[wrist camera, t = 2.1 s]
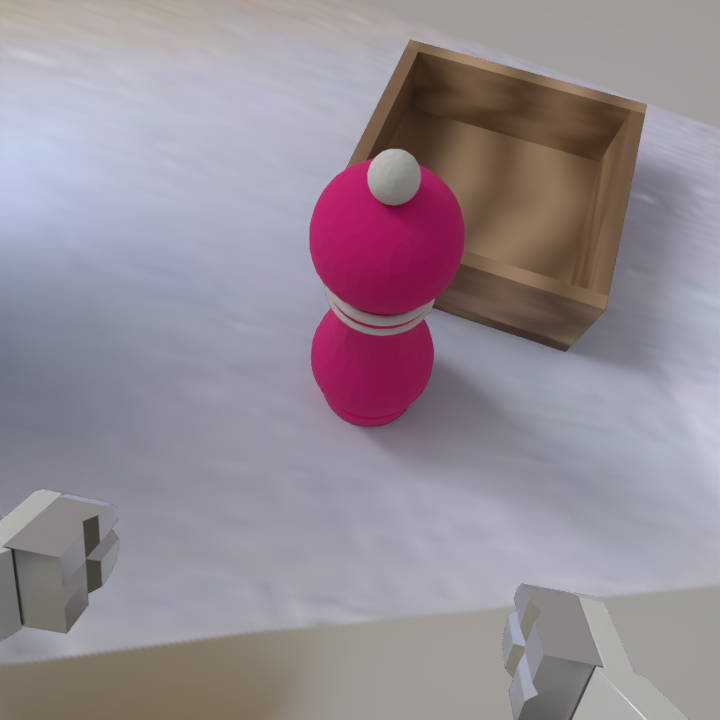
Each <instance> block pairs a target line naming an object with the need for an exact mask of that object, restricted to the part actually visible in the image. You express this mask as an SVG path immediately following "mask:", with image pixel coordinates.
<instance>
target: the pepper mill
mask: <svg viewBox="0 0 720 720" xmlns="http://www.w3.org/2000/svg"><path fill="white" fill-rule="evenodd" d="M309 239H310V252H311V256H312V260H313V263H314V266H315V269H316V272H317V273H318V275H319V276H320V278H321V280H322V281H323V283H324V284H325V292H326V296H327V299H328V302H329V304H330V306H331V309H330V310H329V311H328V312H327V314H326V315H325V316H324V318H323V320H322V321H321V323H320V325H319V326H318V328H317V330H316V332H315V335H314V338H313V343H312V350H311V365H312V370H313V374H314V377H315V379H316V382H317V384H318V385H319V387H320V389H321V390H322V392H323V393H324V396H325V398H326V400H327V402H328V404H329V405H330V407H331V409H332V410H333V411H334V412H335V413H336V414H337V415H338V416H340V417H341V418H343V419H344V420H346V421H348V422H350V423H352V424H355V425H360V426H370V427H372V426H380V425H384V424H387V423H389V422H391V421H393V420H395V419H397V418H398V417H399V416H400V415H402V414H403V413H404V412H405V411H406V409H407V408H408V407H409V405H410V404H411V403H412V402H413V401H415V400H416V399H417V397H418V396H419V395H420V394H421V393H422V392H423V390H424V388H425V387H426V385H427V383H428V380H429V378H430V375H431V370H432V365H433V357H434V349H433V342H432V338H431V335H430V331H429V328H428V326H427V324H426V322H425V320H424V318H425V317H426V316H427V314H428V313H429V312H430V310H431V308H432V306H433V304H434V301H435V298H436V297H437V296H438V295H439V294H440V293H441V292H442V291H443V290H444V289H445V288H446V287H447V286H448V285H449V284H450V282H451V280H452V278H453V277H454V275H455V273H456V271H457V270H458V268H459V265H460V262H461V258H462V254H463V251H464V243H465V225H464V220H463V216H462V211H461V207H460V205H459V203H458V201H457V199H456V197H455V195H454V193H453V192H452V191H451V190H450V188H449V187H448V186H447V185H446V184H445V183H444V182H443V181H442V180H441V179H440V177H439V176H438V175H436V174H435V173H433V172H431V171H430V170H428V169H427V168H425V167H423V166H420V165H419V164H418V163H417V161H416V160H415V158H414V156H412V155H411V154H409V153H408V152H407V151H404V150H401V149H388V150H385V151H383V152H381V153H380V154H379V155H377V156H376V157H375V158H374V159H370V160H367V161H364V162H360V163H358V164H355V165H353V166H351V167H349V168H347V169H346V170H344V171H343V172H341V173H340V174H339V175H337V176H336V177H335V178H334V179H333V180H332V181H331V182H330V184H329V185H328V186H327V187H326V188H325V189H324V191H323V192H322V194H321V196H320V198H319V199H318V202H317V204H316V206H315V209H314V212H313V215H312V219H311V223H310V236H309Z"/></svg>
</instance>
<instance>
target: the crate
mask: <svg viewBox="0 0 720 720" xmlns="http://www.w3.org/2000/svg"><path fill="white" fill-rule="evenodd" d="M646 108H647V104H644V103H640V102H637V101H633V100H629V99H626V98H622V97H618V96H615V95H611V94H608V93H604V92H600V91H597V90H593V89H589V88H586V87H582V86H578V85H575V84H571V83H567V82H564V81H560V80H556V79H553V78H549V77H545V76H542V75H538V74H534V73H531V72H527V71H523V70H520V69H516V68H512V67H509V66H505V65H501V64H498V63H494V62H490V61H487V60H483V59H479V58H476V57H472V56H468V55H465V54H461V53H457V52H454V51H450V50H446V49H443V48H439V47H435V46H432V45H428V44H424V43H421V42H417V41H413V40H409V42H408V44H407V46H406V48H405V50H404V52H403V54H402V56H401V59H400V61H399V63H398V65H397V67H396V69H395V71H394V73H393V75H392V77H391V79H390V81H389V83H388V85H387V87H386V89H385V91H384V93H383V95H382V97H381V99H380V101H379V103H378V105H377V107H376V109H375V111H374V113H373V115H372V117H371V119H370V121H369V123H368V125H367V127H366V129H365V131H364V133H363V135H362V137H361V139H360V141H359V143H358V145H357V147H356V149H355V151H354V153H353V155H352V157H351V159H350V161H349V163H348V165H347V167H346V169H347V168H349V167H351V166H353V165H355V164H358V163H360V162H364V161H367V160H370V159H374V158H375V157H376V156H377V155H379V154H380V153H381V152H383V151H385V150H388V149H401V150H404V151H407V152H408V153H409V154H411V155H412V156H414V158H415V160H416V161H417V163H418V164H419V165H420V166H423V167H425V168H427V169H428V170H430V171H431V172H433V173H435V174H436V175H438V176H439V177H440V179H441V180H442V181H443V182H444V183H445V184H446V185H447V186H448V187H449V188H450V190H451V191H452V192H453V193H454V195H455V197H456V199H457V201H458V203H459V205H460V207H461V211H462V216H463V220H464V225H465V243H464V251H463V254H462V258H461V262H460V265H459V268H458V270H457V271H456V273H455V275H454V277H453V278H452V280H451V282H450V284H449V285H448V286H447V287H446V288H445V289H444V290H443V291H442V292H441V293H440V294H439V295H438V296H437V297H436V298H435V301H434V304H433V306H432V307H433V308H436V309H439V310H442V311H445V312H448V313H451V314H454V315H457V316H460V317H463V318H466V319H469V320H472V321H475V322H478V323H481V324H484V325H487V326H490V327H493V328H496V329H499V330H502V331H505V332H508V333H511V334H514V335H517V336H520V337H523V338H526V339H529V340H532V341H535V342H538V343H541V344H544V345H547V346H550V347H553V348H556V349H559V350H562V351H566V350H567V349H568V348H569V347H570V346H571V345H572V344H573V343H574V342H575V341H576V340H577V339H578V338H579V337H580V336H581V335H582V334H583V333H584V332H585V331H586V330H587V329H588V328H589V327H590V325H591V324H592V323H593V322H594V321H595V320H596V319H597V318H598V317H599V316H600V315H601V314H602V313H603V312H604V311H605V310H606V305H607V300H608V295H609V290H610V285H611V280H612V275H613V270H614V265H615V260H616V255H617V251H618V246H619V241H620V236H621V231H622V226H623V221H624V216H625V211H626V206H627V201H628V196H629V191H630V186H631V182H632V177H633V172H634V167H635V162H636V157H637V152H638V147H639V142H640V137H641V132H642V127H643V122H644V117H645V112H646ZM346 169H345V170H346Z"/></svg>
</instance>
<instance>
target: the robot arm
mask: <svg viewBox="0 0 720 720" xmlns="http://www.w3.org/2000/svg"><path fill="white" fill-rule="evenodd" d="M117 521H118V512H117V507H116V506H115V505H113V504H111V503H107V502H102V501H98V500H93V499H89V498H84V497H80V496H75V495H71V494H63V493H59V492H54V491H50V490H46V489H41V490H38V491H35V492H34V493H32V494H31V495H30V496H29V497H28V498H27V499H25V500H24V501H23V502H22V503H21V504H20V505H18V506H17V507H16V508H15V509H14V510H13V511H11V512H10V513H9V514H8V515H7V516H6V517H4V518H3V519H2V520H1V521H0V642H1V641H2V640H4V639H6V638H7V637H9V636H10V635H12V634H14V633H15V632H17V631H18V630H20V629H21V628H22V627H21V626H25V627H31V628H37V629H43V630H48V631H54V632H60V633H65V634H67V633H68V631H69V630H70V629H71V627H72V626H73V625H74V623H75V622H76V621H77V619H78V618H79V617H80V615H81V614H82V613H83V611H84V610H85V609H86V607H87V606H88V593H90V592H92V591H94V590H96V589H98V588H100V587H102V586H103V584H104V583H105V581H106V580H107V579H108V577H109V576H110V574H111V572H112V570H113V567H114V565H115V563H116V561H117V556H118V551H119V538H118V537H117V535H116V534H115V532H114V531H113V530H112V527H113V526H114V525H115V524H116V523H117ZM514 601H515V606H516V610H515V611H514V612H512V613H511V614H509V615H508V617H507V621H506V624H505V627H504V633H503V643H502V644H503V645H502V646H503V659H504V666H505V669H506V670H507V671H508V672H509V674H510V675H511V676H512V678H513V680H512V683H511V686H510V688H509V695H510V701H511V706H512V712H513V718H514V720H689V719H688V718H687V717H685V716H684V715H683V714H682V713H681V712H680V711H679V710H678V709H677V708H676V707H675V706H674V705H673V704H672V703H671V702H670V701H669V700H668V699H667V698H666V697H665V696H664V695H663V694H662V693H661V692H660V691H659V690H657V688H655V686H653V685H652V684H651V683H650V682H649V681H648V680H647V679H646V678H645V677H644V676H640V675H636V674H635V672H634V670H633V667H632V665H631V663H630V660H629V658H628V656H627V653H626V651H625V649H624V646H623V644H622V642H621V639H620V637H619V635H618V633H617V630H616V628H615V626H614V623H613V621H612V619H611V616H610V614H609V611H608V609H607V607H606V604H605V602H604V601H603V600H602V599H601V598H600V597H595V596H590V595H584V594H578V593H570V592H565V591H560V590H554V589H549V588H544V587H538V586H533V585H528V584H522V583H521V584H520V586H519V587H518V588H517V591H516V594H515V597H514Z"/></svg>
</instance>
